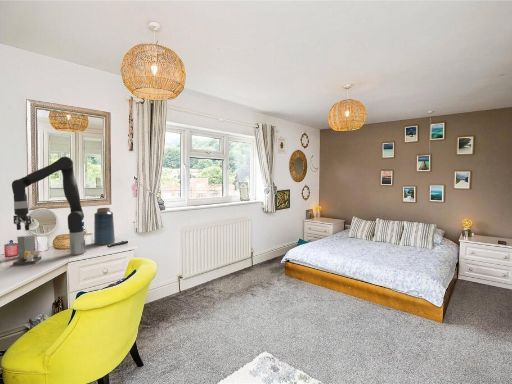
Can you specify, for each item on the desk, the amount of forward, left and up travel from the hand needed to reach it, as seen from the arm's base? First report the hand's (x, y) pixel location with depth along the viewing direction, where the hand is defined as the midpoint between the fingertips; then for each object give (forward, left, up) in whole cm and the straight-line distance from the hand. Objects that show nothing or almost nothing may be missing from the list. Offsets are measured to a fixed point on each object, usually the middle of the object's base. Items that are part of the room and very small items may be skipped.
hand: (23, 230), depth 189 cm
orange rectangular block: (-4, +6, -20) cm, 21 cm away
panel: (-4, +6, -22) cm, 23 cm away
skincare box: (+4, -11, -22) cm, 25 cm away
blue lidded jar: (-42, -38, -22) cm, 61 cm away
